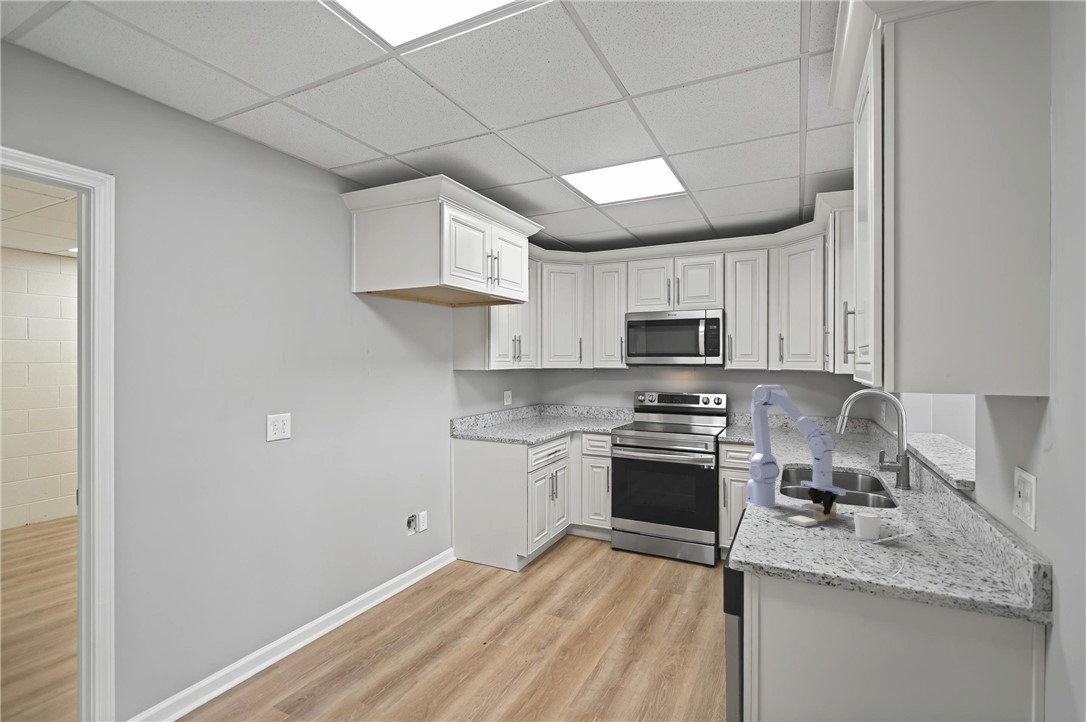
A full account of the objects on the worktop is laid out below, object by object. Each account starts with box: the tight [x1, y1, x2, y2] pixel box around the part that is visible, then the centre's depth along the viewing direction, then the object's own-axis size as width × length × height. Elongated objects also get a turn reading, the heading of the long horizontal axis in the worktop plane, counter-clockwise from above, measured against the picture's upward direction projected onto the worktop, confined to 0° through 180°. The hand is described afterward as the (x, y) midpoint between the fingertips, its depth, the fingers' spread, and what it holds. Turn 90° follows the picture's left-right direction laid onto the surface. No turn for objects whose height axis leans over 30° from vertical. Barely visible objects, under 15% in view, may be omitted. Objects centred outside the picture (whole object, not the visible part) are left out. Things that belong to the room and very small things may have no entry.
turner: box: [801, 501, 837, 521], centre depth 170 cm, size 12×5×5 cm, turn 116°
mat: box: [770, 509, 854, 530], centre depth 172 cm, size 14×24×1 cm, turn 117°
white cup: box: [853, 511, 882, 542], centre depth 153 cm, size 7×7×7 cm
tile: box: [787, 515, 817, 528], centre depth 166 cm, size 6×1×6 cm
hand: (822, 513), depth 170 cm, fingers closed on turner, 2 cm apart
